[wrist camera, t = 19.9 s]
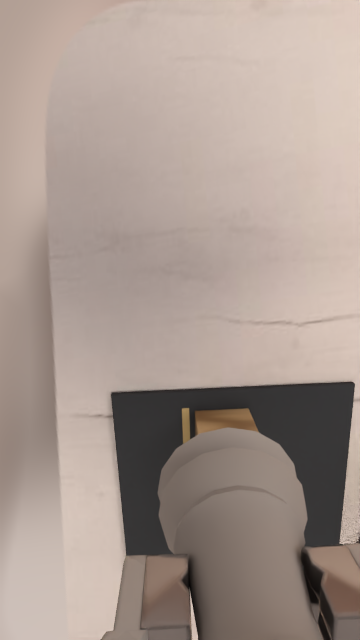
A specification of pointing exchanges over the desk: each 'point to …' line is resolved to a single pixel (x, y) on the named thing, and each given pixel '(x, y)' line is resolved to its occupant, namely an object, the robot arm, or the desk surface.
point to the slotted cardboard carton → (223, 420)
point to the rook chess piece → (239, 535)
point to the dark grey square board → (271, 421)
